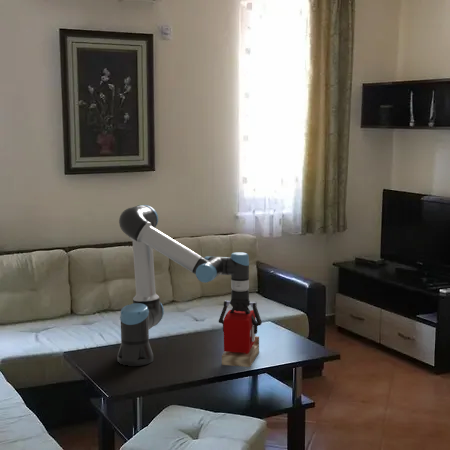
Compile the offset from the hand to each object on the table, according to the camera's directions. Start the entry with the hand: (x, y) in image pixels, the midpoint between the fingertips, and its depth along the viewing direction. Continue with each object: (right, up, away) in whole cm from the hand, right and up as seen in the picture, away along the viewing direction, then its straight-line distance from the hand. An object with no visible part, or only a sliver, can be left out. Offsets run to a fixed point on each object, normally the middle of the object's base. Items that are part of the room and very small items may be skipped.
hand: (240, 340), depth 293 cm
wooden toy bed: (0, -8, +3) cm, 9 cm away
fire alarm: (0, -3, 0) cm, 3 cm away
